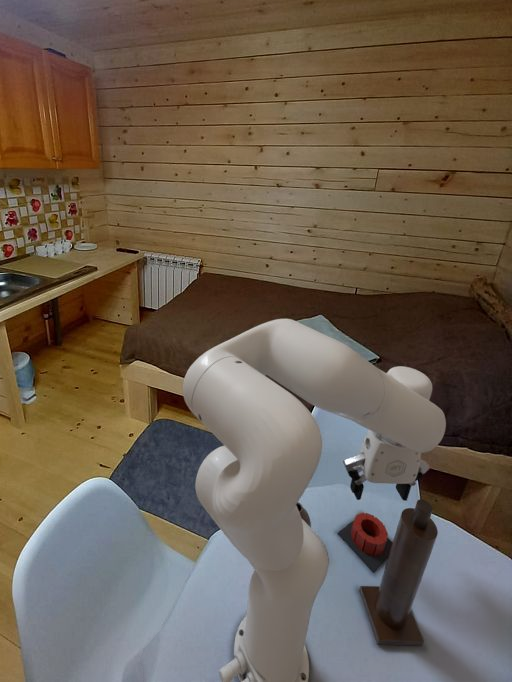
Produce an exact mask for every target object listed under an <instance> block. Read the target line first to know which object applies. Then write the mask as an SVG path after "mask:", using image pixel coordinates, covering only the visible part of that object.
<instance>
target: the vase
mask: <svg viewBox="0 0 512 682" xmlns="http://www.w3.org/2000/svg"><path fill="white" fill-rule="evenodd" d="M296 506H297V508H298V511H299V513H300V516H301V518H302V519H303V520H304V521H305V522H306V523H307V524H308V525H309V526H310V527H311V528H312V521H311V517H310V515H309V512H308V511H307V509H306V508H304V506H303V505H302V503H300V502H299V501H298V503H297V504H296Z"/></svg>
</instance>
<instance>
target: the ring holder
mask: <svg viewBox="0 0 512 682" xmlns="http://www.w3.org/2000/svg"><path fill="white" fill-rule="evenodd" d="M433 511H434V508H433V506H432V504H431V503H430V502H429V501H427V500H425V499H422V498H421V499H420V498H419V499H417V501H416V504H415V505H414V507H406V508H404V509H402V511H401V513H400V517H399V519H398V524H397V526H396V531H395V534H394V538H393V540H392V542H393V544H392V547H391V550H390V554H389V557H388V559H387V560H386V564H385V566H384V570H383V574H382V577H381V581H380V584H379V586H378V585H377V586H376V585H375V586H374V585H370V586H369V585H359V589H358V592H359V595H360V598H361V601H362V604H363V607H364V609H365V613H366V616H367V619H368V622H369V624H370V627H371V630H372V633H373V636H374V639H375V642H376V645H385V646H386V645H387V646H391V645H392V646H423V645H424V641H425V640H424V637H423V636H422V633H421V631H420V629H419V627H418V624H417V621H416V619H415V617H414V615H413V613H412V607H413V604H414V602H415V600H416V597H417V593H418V590H419V588H420V585H421V582H422V579H423V576H424V575H425V571H426V568H427V565H428V562H429V560H430V557H431V554H432V551H433V549H434V545H435V543H436V541H437V537H438V533H439V532H438V527H437V525H436V523H435V521H434V520H433V519H432V518H431V517H432V515H433V514H432V513H433Z"/></svg>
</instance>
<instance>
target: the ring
mask: <svg viewBox="0 0 512 682" xmlns="http://www.w3.org/2000/svg"><path fill="white" fill-rule="evenodd" d="M353 520H354V521H353ZM353 520H352V521H353V525H352V529H351V535H352V538H353V542H355V544H356V545H357V546H358V548H359V549H360V550H361V551H363V552H364V553H367V554H369V555H372V556H373V555H374V556H376V555H380V554H382V553H383V550H384V548H385V544H386V541H387V537H388V536H389V533H388V531H387V528H386V526H385V524H384V523H383V522H382V521H381V520H380V519H379V518H378V517H377V516H375V515H374V514H370V513H368V512H361V513H357V514H356V515H355V517H354V519H353ZM363 530H366V531H369V532H371V533H372V534H373V535H374V536H375V537H371V536H369V535H367V534H366V533H365V532H364V531H363ZM388 538H389V537H388Z"/></svg>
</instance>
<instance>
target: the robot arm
mask: <svg viewBox="0 0 512 682" xmlns="http://www.w3.org/2000/svg"><path fill="white" fill-rule="evenodd" d="M269 377H270V378H271V379H270V378H269ZM276 382H277V383H276ZM279 384H280V385H279ZM282 386H283V387H282ZM285 388H286V389H285ZM288 390H289V391H291V392H292V393H293V394H295V395H296V396H298V397H299V398H301V399H303V400H304V401H305V402H307V403H308V404H309V405H312V406H314V407H315V408H318V409H320V410H322V411H325V412H328V413H331V414H333V415H337V416H339V417H342V418H345V419H347V420H350V421H352V422H354V423H356V424H358V425H359V426H361V427H362V428H365V429H367V430H368V431H367V433H366V434H365V436H364V439H363V442H362V444H361V446H360V450H359V453H358V454H357V455H354V456H351V457H348V458H346V459H344V460H342V463H343V466H344V468H345V470H346V473H347V474H348V476H349V478H350V479H351V480H350V486H349V487H350V490H351V493H352V494H354V497H355V499H356V501H360V500H361V499H362V496H363V493H364V488H365V486H364V483H365V482H366V481H367V482H370V483H373V484H387V485H388V484H392V485H394V484H395V489H396V491H397V493H398V495H399V497H400V498H401V499H402V501H406V502H407V501H408V499H409V495H410V492H411V489H412V487H414V486H416V484H417V481H418V480H421V479H422V478H423V477H424V474H426V473H427V472H428V471H429V470H430V468H431V467H430V465H429V464H428V462H427V461H426V460H424V459H422V458H421V457H422V454H424V453H428V452H431V451H432V450H434V449H435V448H437V447H438V445H439V444H440V443H441V442H442V440H443V438H444V435H445V433H446V427H447V421H446V416H445V413H444V411H443V410H442V409H441V408H440V407H439V406H438V405H437V404H435V403H433V402H432V401H431V400H430V399H431V396H432V393H433V383H432V381H431V379H430V378H429V377H428V376H427V375H426V374H425V373H423V372H421V371H420V370H417V369H415V368H412V367H408V366H402V365H399V366H393V367H391V368H390V369H389V370H388V371H387V372H385V371H383V370H381V369H380V368H379V367H377V366H376V365H374V364H372V363H371V362H370V361H369V360H367V359H366V358H365V357H364V356H362V355H360V353H358V352H357V351H355V350H354V349H353V348H351V346H349V345H347V344H345V343H343V342H341V341H339V340H338V339H335V338H334V337H331V336H329V335H326V334H324V333H322V332H319V330H316V329H314V328H311V327H309V326H308V325H305V324H303V323H301V322H299V321H297V320H294V319H291V318H276V319H272V320H269V321H266V322H264V323H261V324H258V325H256V326H254V327H252V328H250V329H248V330H246V331H243V332H242V333H240V334H238V335H235V336H234V337H232V338H230V339H228V340H226V341H224V342H221V343H219V344H217V345H216V346H213V347H212V348H210V349H208V350H206V351H205V352H204V353H202V354H201V355H200V356H199V357H198V358H197V359H196V360H194V362H193V363H192V364H191V365H190V366H189V368H188V370H187V371H186V374H185V376H184V378H183V382H182V397H183V399H184V402H185V404H186V406H187V407H188V409H189V411H190V412H191V413H192V414H193V415H194V416H195V418H197V420H198V421H200V423H202V425H203V426H204V427H205V428H207V429H208V431H210V433H212V435H214V436H215V438H217V440H218V441H220V443H221V444H222V445H221V446H219V447H217V448H215V449H214V450H212V451H211V452H210V453H208V455H207V456H206V457H205V458H204V460H203V461H202V463H200V465H199V468H198V471H197V472H196V473H197V474H196V477H195V484H194V485H195V486H194V488H195V489H194V490H195V494H196V498H197V500H198V502H199V503H200V505H201V506H202V507H203V509H204V510H205V511H206V512H207V514H208V515H209V516H210V517H211V519H212V520H213V521H214V523H215V524H216V526H218V528H219V530H220V531H221V532H222V534H224V536H225V537H226V538H227V539H228V541H229V542H230V543H231V544H232V545H233V547H234V548H235V549H236V550H237V551H238V552H239V553H240V555H242V556H243V557H244V558H245V559H246V560H247V562H248V563H249V564H250V566H251V567H252V569H254V570H253V572H252V574H251V577H250V579H249V585H248V596H247V606H246V615H245V616H244V618H243V619H242V620H241V622H240V624H239V626H238V627H237V630H236V632H235V633H236V634H235V638H234V643H233V659H232V660H231V661H230V662H227V663H226V664H225V665H224V666H223V667H221V668H220V669H219V670H218V674H219V675H218V676H219V678H220V680H221V682H232V681H234V680H235V678H236V677H237V678H238V681H239V682H309V679H310V677H309V675H310V661H309V660H310V659H309V653H308V650H307V646H306V639H307V635H308V630H309V625H310V619H311V614H312V610H313V606H314V603H315V600H316V598H317V597H318V594H319V592H320V590H321V589H322V587H323V584H324V583H325V580H326V579H327V575H328V571H329V564H330V562H329V561H330V560H329V555H328V554H329V553H328V551H327V548H326V547H325V545H324V543H323V541H322V540H321V539H320V536H319V535H317V533H316V532H315V531H314V530H313V528H312V526H311V527H310V526H309V525H308V524H307V523H306V522H305V521H304V520H303V519H302V518H301V516H300V513H299V511H298V508H297V506H296V504H297V503H298V502H299V501H300V500H301V498H302V497H303V495H304V493H305V491H306V490H307V487H308V486H309V484H310V483H311V480H312V479H313V477H314V475H315V473H316V471H317V469H318V466H319V463H320V462H321V461H320V460H321V457H322V452H323V437H322V432H321V430H320V429H321V428H320V427H319V424H318V423H317V421H316V418H315V417H314V416H313V414H312V413H311V411H310V409H308V408H307V406H305V404H303V403H302V401H301V400H299V399H298V398H297V397H296V396H295V395H293V394H292V393H291V392H289V391H288ZM361 472H363V473H362V474H361V475H360V473H361Z"/></svg>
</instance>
